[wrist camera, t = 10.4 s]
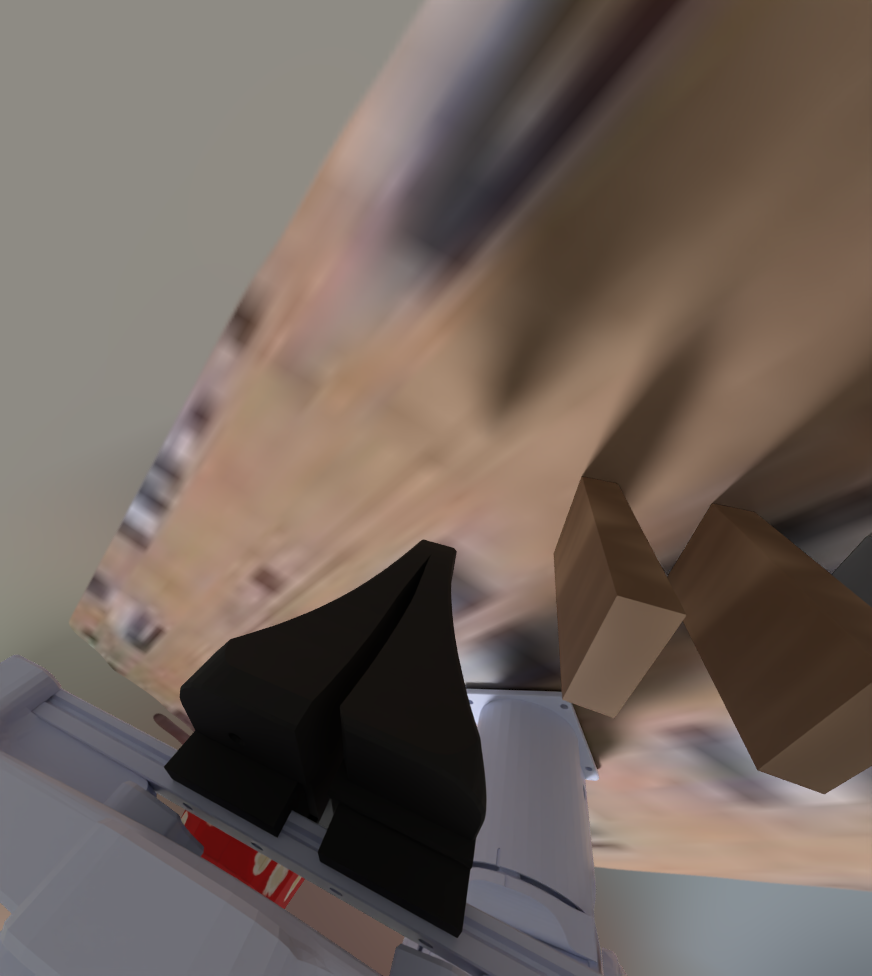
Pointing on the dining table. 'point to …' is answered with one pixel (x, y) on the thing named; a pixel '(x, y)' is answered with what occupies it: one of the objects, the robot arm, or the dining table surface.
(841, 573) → the domino
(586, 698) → the domino
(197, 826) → the decorative mushroom
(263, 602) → the dining table surface
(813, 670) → the domino
